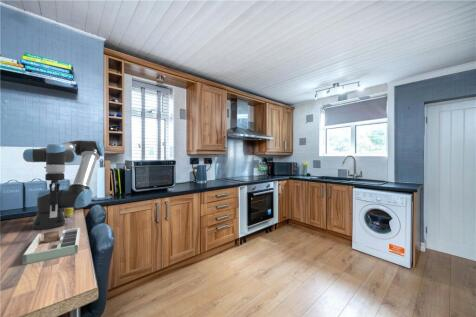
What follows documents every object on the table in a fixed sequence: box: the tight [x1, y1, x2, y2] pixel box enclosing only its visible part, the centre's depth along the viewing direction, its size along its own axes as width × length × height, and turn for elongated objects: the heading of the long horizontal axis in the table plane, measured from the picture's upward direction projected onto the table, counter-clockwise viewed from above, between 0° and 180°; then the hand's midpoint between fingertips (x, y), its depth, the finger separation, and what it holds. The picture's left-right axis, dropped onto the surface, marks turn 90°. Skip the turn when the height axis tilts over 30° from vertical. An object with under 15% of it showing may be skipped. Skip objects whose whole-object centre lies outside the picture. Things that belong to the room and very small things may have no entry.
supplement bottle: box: [63, 208, 75, 218], centre depth 145 cm, size 5×5×10 cm
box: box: [22, 227, 81, 266], centre depth 93 cm, size 30×16×4 cm, turn 37°
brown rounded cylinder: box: [43, 230, 60, 244], centre depth 100 cm, size 6×6×4 cm
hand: (53, 217), depth 106 cm, fingers closed
